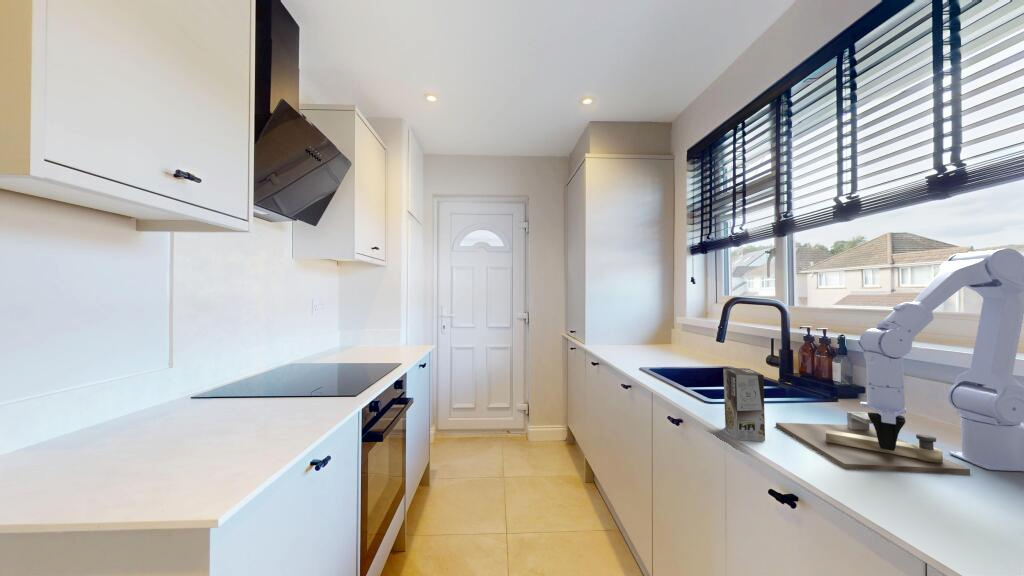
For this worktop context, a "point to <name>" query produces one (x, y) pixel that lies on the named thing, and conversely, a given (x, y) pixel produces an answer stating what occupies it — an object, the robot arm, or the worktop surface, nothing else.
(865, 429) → the base board
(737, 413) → the coffee box
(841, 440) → the link
